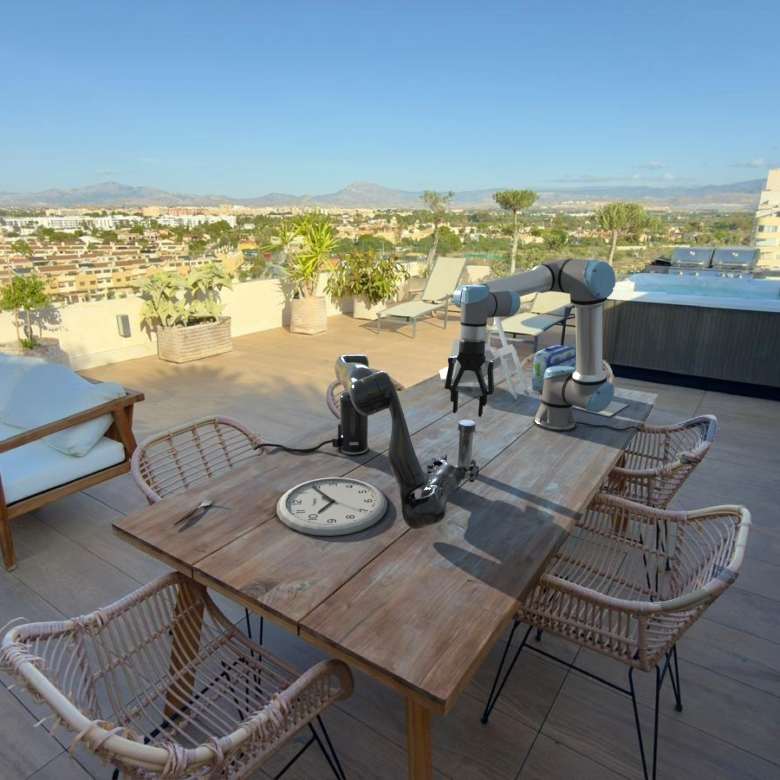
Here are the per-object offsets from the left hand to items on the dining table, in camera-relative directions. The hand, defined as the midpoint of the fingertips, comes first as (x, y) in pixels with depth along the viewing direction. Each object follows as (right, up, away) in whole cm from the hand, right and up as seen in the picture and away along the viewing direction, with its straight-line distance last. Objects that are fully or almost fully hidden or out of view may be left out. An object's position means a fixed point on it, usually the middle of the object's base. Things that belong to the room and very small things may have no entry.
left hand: (459, 459), depth 157 cm
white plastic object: (+21, +20, +86) cm, 91 cm away
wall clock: (-37, -11, -14) cm, 41 cm away
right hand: (+3, +14, +2) cm, 14 cm away
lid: (+3, +11, +3) cm, 11 cm away
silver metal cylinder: (+2, -5, +8) cm, 9 cm away
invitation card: (+71, +14, +69) cm, 100 cm away
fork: (-72, -11, -19) cm, 76 cm away
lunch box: (+56, +21, +92) cm, 110 cm away
